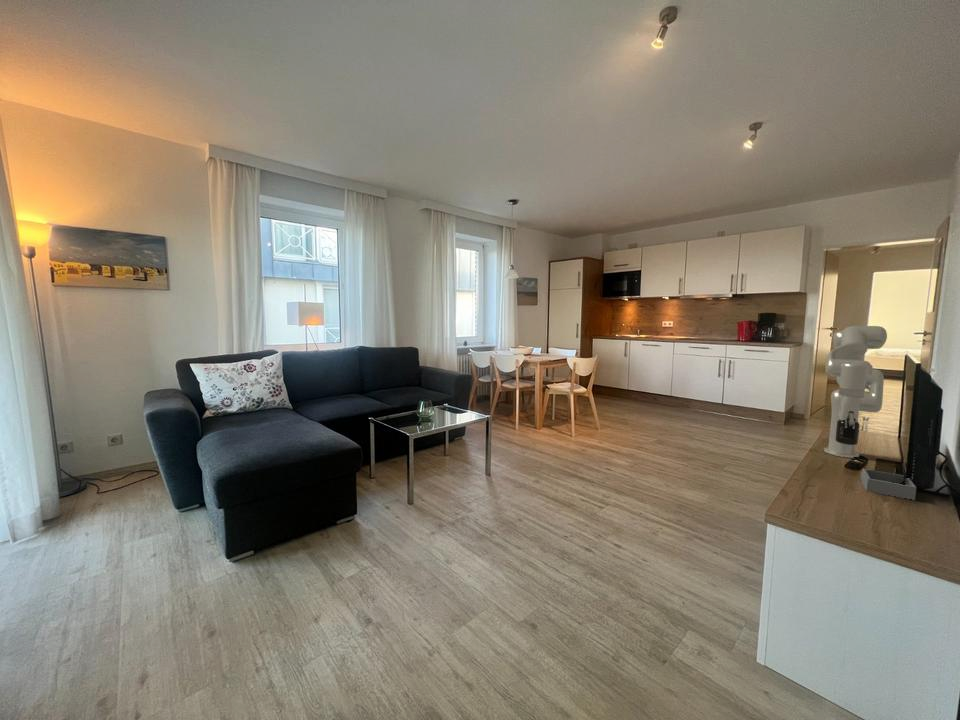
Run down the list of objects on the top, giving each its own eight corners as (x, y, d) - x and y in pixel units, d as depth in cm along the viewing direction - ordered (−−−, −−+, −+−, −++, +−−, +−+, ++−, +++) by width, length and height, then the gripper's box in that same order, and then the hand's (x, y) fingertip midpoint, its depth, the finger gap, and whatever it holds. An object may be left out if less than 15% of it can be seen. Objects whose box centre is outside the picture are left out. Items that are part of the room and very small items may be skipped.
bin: (861, 480, 159) (862, 468, 158) (905, 488, 151) (907, 475, 151) (866, 491, 149) (867, 478, 148) (914, 500, 141) (916, 487, 141)
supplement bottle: (862, 445, 156) (865, 416, 155) (845, 445, 156) (848, 416, 155) (846, 439, 163) (849, 411, 162) (830, 439, 163) (833, 412, 162)
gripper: (836, 388, 166) (832, 428, 168) (841, 395, 153) (837, 439, 155) (860, 389, 162) (856, 431, 164) (868, 398, 148) (863, 442, 150)
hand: (847, 434), depth 159 cm, fingers closed on supplement bottle, 6 cm apart
